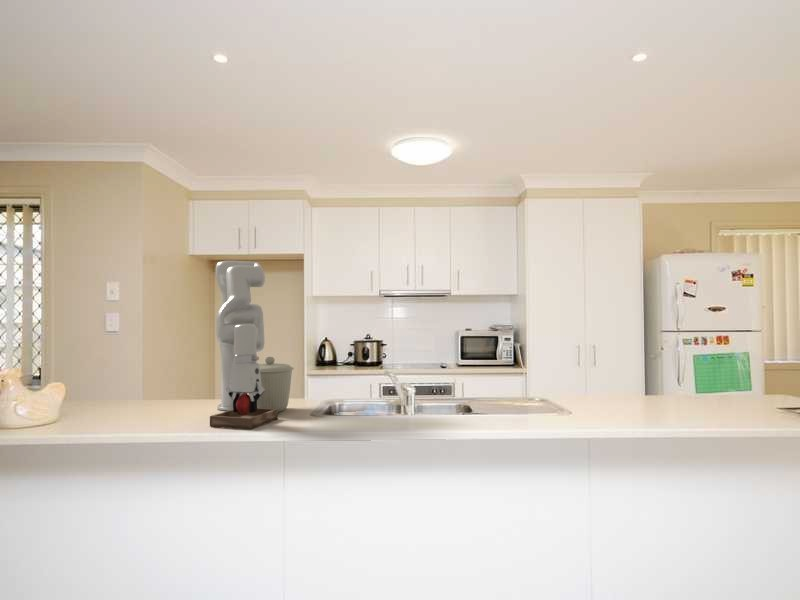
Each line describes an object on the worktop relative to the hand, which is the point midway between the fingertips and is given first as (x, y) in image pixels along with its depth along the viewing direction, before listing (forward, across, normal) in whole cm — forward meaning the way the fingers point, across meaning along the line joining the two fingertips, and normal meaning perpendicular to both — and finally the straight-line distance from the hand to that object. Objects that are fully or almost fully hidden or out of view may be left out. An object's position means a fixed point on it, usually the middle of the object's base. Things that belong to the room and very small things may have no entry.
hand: (244, 411), depth 159 cm
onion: (+1, 0, 0) cm, 1 cm away
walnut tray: (+4, 0, 0) cm, 4 cm away
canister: (+4, +3, -20) cm, 21 cm away
